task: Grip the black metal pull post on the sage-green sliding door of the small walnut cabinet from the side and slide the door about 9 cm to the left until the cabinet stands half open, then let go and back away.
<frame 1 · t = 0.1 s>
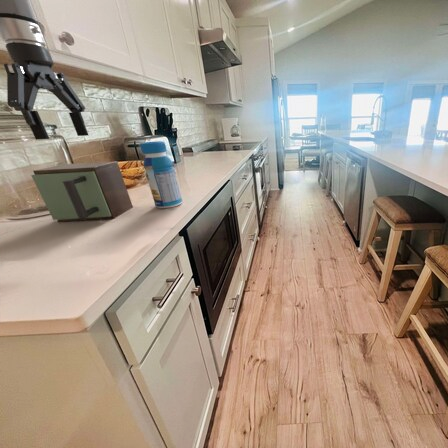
hand: (64, 137, 67), 23 cm above the countertop, tool pointing down, fingers open, 13 cm apart
sliding door: (64, 199, 64), point 8 cm above the countertop, slide at 0.0 cm
cabinet: (97, 214, 75), on the countertop
beverage bottle: (169, 205, 81), on the countertop
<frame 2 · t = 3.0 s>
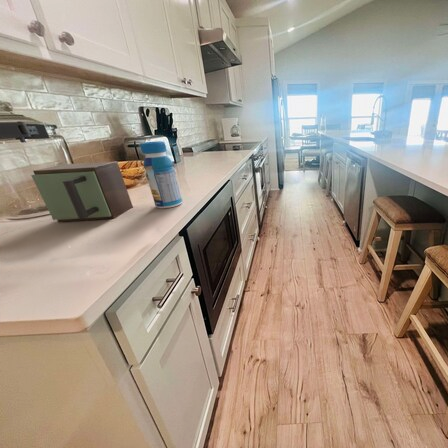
hand: (9, 134, 49), 24 cm above the countertop, tool horizontal, fingers open, 13 cm apart
nothing on the countertop moved.
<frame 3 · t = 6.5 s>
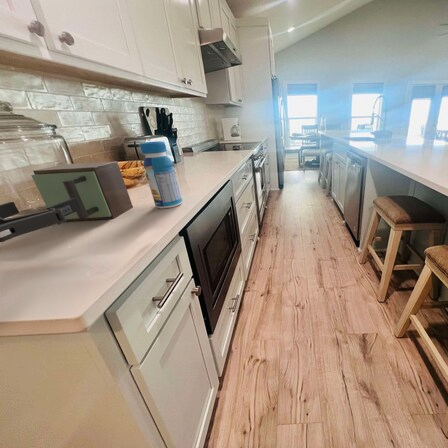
hand: (46, 205, 54), 9 cm above the countertop, tool horizontal, fingers open, 13 cm apart
nothing on the countertop moved.
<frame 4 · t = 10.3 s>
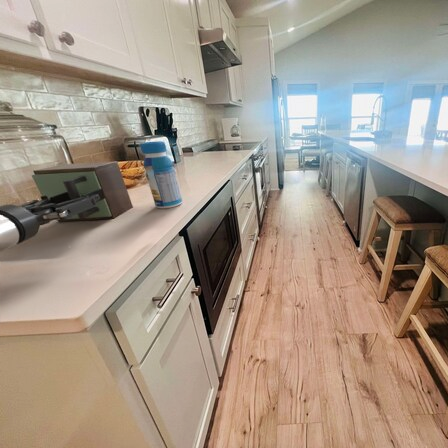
hand: (88, 194, 66), 8 cm above the countertop, tool horizontal, fingers closed on sliding door, 7 cm apart
sliding door: (64, 199, 64), point 8 cm above the countertop, slide at -0.1 cm, touching gripper
everything else where it was.
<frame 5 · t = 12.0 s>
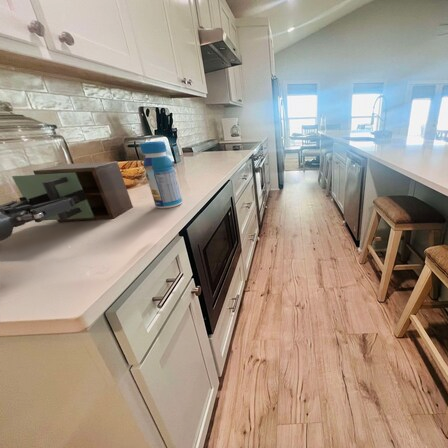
hand: (69, 195, 66), 8 cm above the countertop, tool horizontal, fingers closed on sliding door, 7 cm apart
sliding door: (45, 200, 64), point 8 cm above the countertop, slide at 4.9 cm, touching gripper
everything else where it was.
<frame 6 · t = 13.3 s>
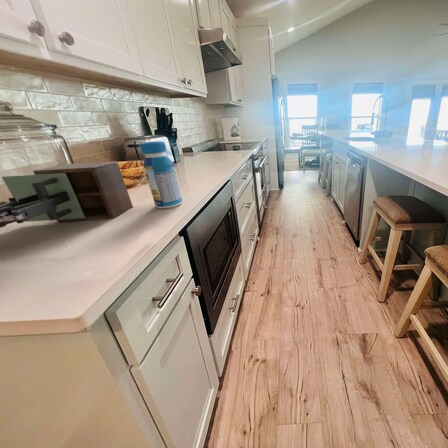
hand: (56, 196, 66), 8 cm above the countertop, tool horizontal, fingers closed on sliding door, 5 cm apart
sliding door: (35, 201, 64), point 8 cm above the countertop, slide at 7.5 cm, touching gripper
everything else where it was.
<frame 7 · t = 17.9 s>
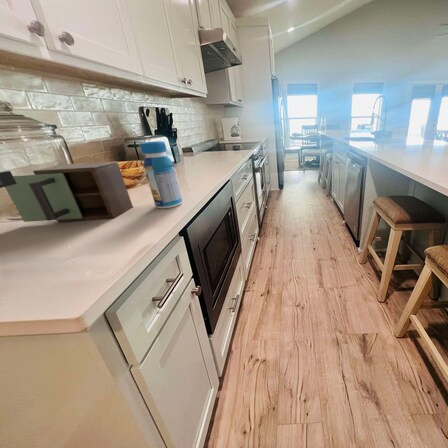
sliding door: (32, 201, 64), point 8 cm above the countertop, slide at 8.1 cm
everything else where it was.
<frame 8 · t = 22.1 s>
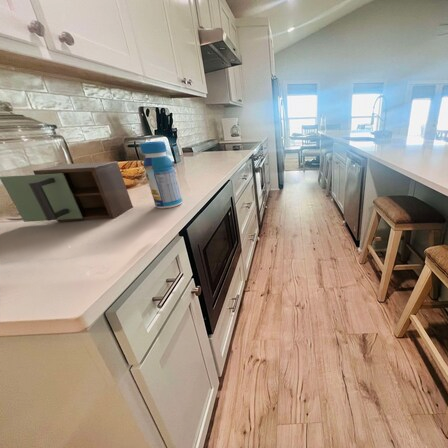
nothing on the countertop moved.
at the end: sliding door slide at 8.1 cm; the gripper is holding nothing; beverage bottle moved 0.2 cm from its start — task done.
